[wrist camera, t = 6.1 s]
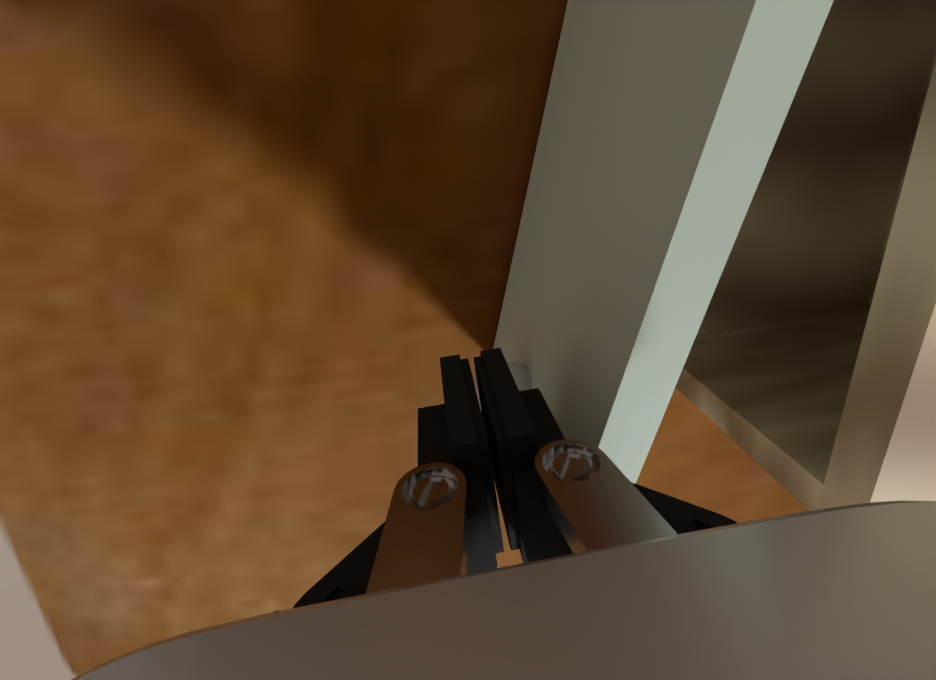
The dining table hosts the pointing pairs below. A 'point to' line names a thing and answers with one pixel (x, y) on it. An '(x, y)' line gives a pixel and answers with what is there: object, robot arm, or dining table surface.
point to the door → (642, 199)
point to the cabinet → (837, 275)
